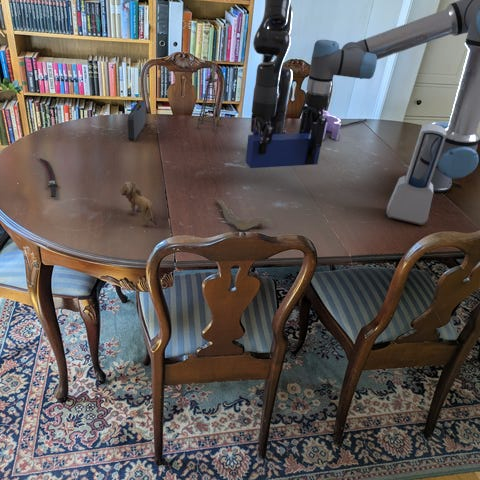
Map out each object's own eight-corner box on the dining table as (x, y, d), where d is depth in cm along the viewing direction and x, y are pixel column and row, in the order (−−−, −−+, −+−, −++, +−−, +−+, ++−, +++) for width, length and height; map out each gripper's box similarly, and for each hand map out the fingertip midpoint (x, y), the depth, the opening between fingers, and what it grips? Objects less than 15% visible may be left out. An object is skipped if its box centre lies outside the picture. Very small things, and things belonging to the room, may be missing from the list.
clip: (302, 123, 220) (305, 109, 217) (327, 124, 223) (330, 110, 219) (316, 139, 204) (319, 124, 200) (342, 140, 207) (346, 124, 203)
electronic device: (425, 217, 152) (456, 128, 136) (425, 227, 146) (458, 136, 130) (386, 208, 155) (413, 120, 139) (385, 218, 149) (412, 127, 133)
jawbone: (250, 238, 132) (250, 232, 131) (198, 212, 143) (198, 206, 141) (269, 225, 138) (269, 219, 137) (218, 201, 148) (218, 195, 147)
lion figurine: (118, 210, 138) (116, 182, 133) (132, 204, 141) (131, 177, 137) (151, 229, 130) (150, 201, 126) (165, 223, 134) (165, 195, 129)
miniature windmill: (214, 131, 201) (219, 58, 184) (195, 128, 202) (199, 55, 185) (219, 124, 208) (224, 54, 192) (201, 122, 209) (205, 51, 193)
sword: (61, 197, 141) (61, 193, 140) (50, 198, 139) (50, 194, 139) (49, 160, 164) (48, 156, 163) (39, 160, 163) (39, 157, 162)
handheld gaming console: (139, 121, 202) (139, 98, 197) (146, 122, 202) (145, 99, 197) (127, 140, 183) (126, 115, 178) (134, 141, 183) (133, 116, 178)
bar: (250, 168, 153) (253, 140, 148) (245, 162, 157) (248, 135, 152) (317, 164, 161) (322, 138, 156) (311, 158, 165) (315, 132, 159)
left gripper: (285, 106, 140) (277, 159, 149) (267, 92, 151) (261, 142, 160) (262, 106, 137) (255, 160, 146) (246, 92, 148) (241, 142, 158)
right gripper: (342, 101, 143) (327, 170, 155) (315, 84, 157) (304, 149, 169) (320, 101, 140) (307, 172, 153) (295, 84, 155) (285, 150, 167)
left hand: (258, 150), depth 153 cm, fingers open, 5 cm apart
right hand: (305, 160), depth 161 cm, fingers closed on bar, 5 cm apart
